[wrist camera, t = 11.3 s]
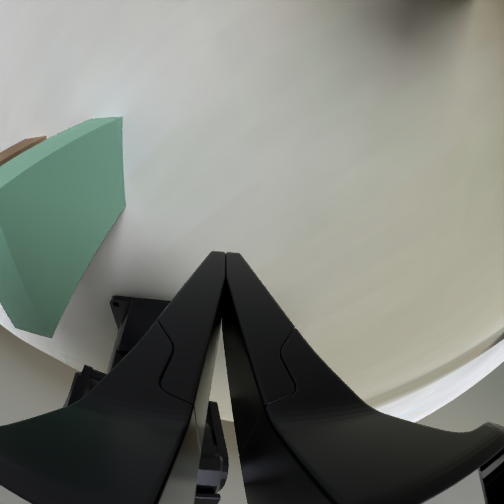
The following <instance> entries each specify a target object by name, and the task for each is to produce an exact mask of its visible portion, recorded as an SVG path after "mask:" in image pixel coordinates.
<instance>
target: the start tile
mask: <svg viewBox="0 0 504 504" xmlns="http://www.w3.org/2000/svg"><path fill="white" fill-rule="evenodd" d="M125 206H126V204H125V192H124V177H123V153H122V117H110V118H96V119H90V120H88V121H85V122H83V123H81V124H78V125H76V126H74V127H72V128H69V129H67V130H65V131H63V132H61V133H59V134H57V135H55V136H53V137H51V138H49V139H47V140H45V141H43V142H41V143H39V144H37V145H35V146H33V147H32V148H30V149H28V150H26V151H25V152H23V153H21V154H19V155H18V156H16V157H14V158H13V159H11V160H10V161H8V162H6V163H5V164H3V165H2V166H0V303H1V305H2V306H3V308H4V310H5V312H6V313H7V315H8V317H9V318H10V320H11V322H12V323H13V325H14V326H15V328H18V329H21V330H24V331H27V332H31V333H34V334H38V335H42V336H45V337H49V338H52V336H53V334H54V331H55V329H56V327H57V325H58V323H59V320H60V318H61V316H62V314H63V312H64V310H65V308H66V306H67V304H68V302H69V300H70V298H71V296H72V294H73V292H74V290H75V288H76V286H77V285H78V283H79V281H80V279H81V277H82V275H83V274H84V272H85V270H86V268H87V266H88V265H89V263H90V261H91V260H92V258H93V256H94V254H95V253H96V251H97V249H98V248H99V246H100V245H101V243H102V241H103V240H104V238H105V237H106V235H107V233H108V232H109V230H110V229H111V227H112V226H113V224H114V223H115V221H116V220H117V218H118V217H119V215H120V214H121V212H122V211H123V209H124V208H125Z"/></svg>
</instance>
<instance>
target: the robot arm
mask: <svg viewBox="0 0 504 504" xmlns="http://www.w3.org/2000/svg"><path fill="white" fill-rule="evenodd" d="M110 305H111V309H112V312H113V315H114V318H115V321H116V324H117V327H118V330H119V331H118V335H117V338H116V341H115V345H114V348H113V352H112V355H111V359H110V363H109V366H108V370H107V374H104V373H102V372H99V371H96V370H94V369H93V368H92V367H90V366H87V365H84V368H83V371H82V372H80V373H75V376H74V380H73V383H72V386H71V389H70V392H69V395H68V398H67V400H66V402H65V404H64V406H63V408H61V409H58V410H55V411H52V412H49V413H46V414H43V415H40V416H36V417H33V418H30V419H26V420H23V421H20V422H16V423H12V424H9V425H4V426H0V504H218V502H219V501H220V494H217V492H218V491H220V490H221V489H222V488H223V486H224V485H225V482H226V479H227V475H228V466H229V464H228V453H227V448H226V444H225V439H224V434H223V430H222V425H221V420H220V415H219V410H218V404H217V402H213V401H209V396H210V389H211V383H212V377H213V371H214V365H215V358H216V352H217V346H218V340H219V335H220V328H221V319H222V332H223V341H224V350H225V358H226V367H227V375H228V382H229V390H230V398H231V405H232V412H233V419H234V426H235V432H236V439H237V445H238V451H239V455H240V456H239V458H240V463H241V470H242V475H243V481H244V487H245V492H246V498H247V503H248V504H504V427H503V426H501V425H498V424H494V423H491V422H486V423H484V424H483V425H482V426H480V427H478V428H476V429H475V430H473V431H470V432H460V433H458V432H450V431H444V430H440V429H436V428H432V427H428V426H425V425H421V424H417V423H413V422H410V421H406V420H403V419H400V418H396V417H393V416H390V415H387V414H384V413H381V412H379V411H377V410H375V409H374V408H372V407H370V406H369V405H368V404H366V403H365V402H364V401H363V400H362V399H360V398H359V397H358V396H357V395H356V394H355V393H354V392H353V391H352V390H351V389H350V388H349V387H348V386H347V385H346V384H345V383H344V382H343V381H342V380H341V379H340V378H339V377H338V376H337V375H336V374H335V373H334V372H333V371H332V370H331V369H330V368H329V367H328V365H327V364H326V363H325V362H324V361H323V360H322V359H321V358H320V357H319V356H318V355H317V354H316V352H315V351H314V350H313V349H312V348H311V346H310V345H309V344H308V343H307V341H306V340H305V339H304V338H303V336H302V335H301V334H300V333H299V331H298V330H297V329H296V328H295V326H294V325H293V323H292V322H291V321H290V319H289V318H288V317H287V316H286V314H285V313H284V312H283V310H282V309H281V308H280V306H279V305H278V304H277V302H276V301H275V300H274V298H273V297H272V296H271V294H270V293H269V292H268V290H267V289H266V288H265V286H264V285H263V284H262V282H261V281H260V280H259V278H258V277H257V276H256V274H255V273H254V272H253V270H252V269H251V268H250V266H249V265H248V264H247V262H246V261H245V260H244V258H243V257H242V256H241V254H240V253H232V252H227V253H226V255H225V253H224V252H218V251H212V252H210V254H209V255H208V256H207V257H206V258H205V260H204V261H203V262H202V263H201V265H200V266H199V267H198V268H197V269H196V271H195V272H194V273H193V274H192V276H191V277H190V278H189V279H188V281H187V282H186V283H185V284H184V286H183V287H182V288H181V289H180V291H179V292H178V293H177V294H176V296H175V297H174V298H173V299H172V301H162V300H152V299H142V298H133V297H124V296H112V298H111V300H110Z"/></svg>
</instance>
